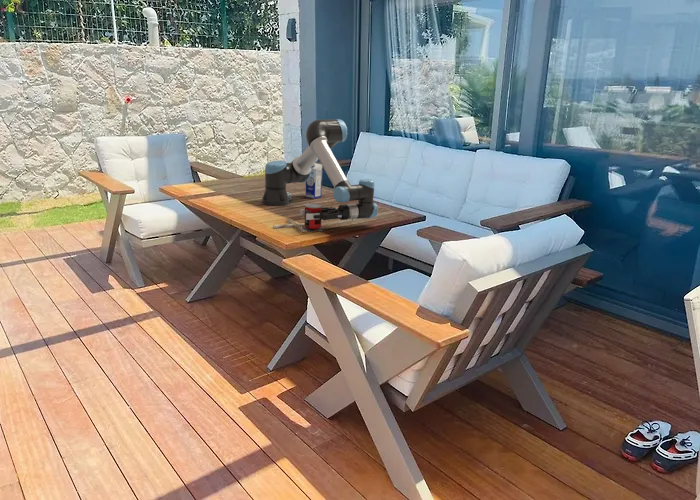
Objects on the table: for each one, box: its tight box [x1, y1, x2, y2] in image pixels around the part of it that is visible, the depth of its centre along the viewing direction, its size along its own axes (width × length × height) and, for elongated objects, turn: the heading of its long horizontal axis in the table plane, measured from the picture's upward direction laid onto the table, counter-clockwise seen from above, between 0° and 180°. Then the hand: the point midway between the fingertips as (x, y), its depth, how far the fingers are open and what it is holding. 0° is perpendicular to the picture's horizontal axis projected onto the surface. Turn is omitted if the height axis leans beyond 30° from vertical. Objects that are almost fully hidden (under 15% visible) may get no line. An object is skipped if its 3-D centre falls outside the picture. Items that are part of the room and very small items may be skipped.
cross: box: [272, 218, 324, 233], centre depth 265 cm, size 22×22×1 cm
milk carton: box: [305, 162, 323, 200], centre depth 325 cm, size 7×7×20 cm
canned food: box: [304, 202, 323, 229], centre depth 260 cm, size 8×8×11 cm
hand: (303, 214), depth 257 cm, fingers closed on canned food, 8 cm apart
